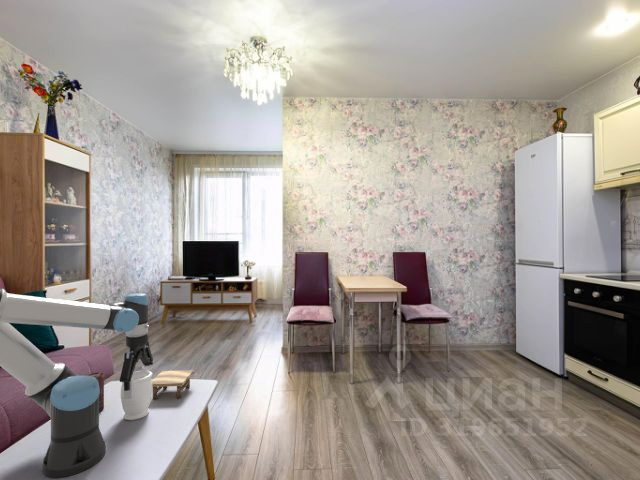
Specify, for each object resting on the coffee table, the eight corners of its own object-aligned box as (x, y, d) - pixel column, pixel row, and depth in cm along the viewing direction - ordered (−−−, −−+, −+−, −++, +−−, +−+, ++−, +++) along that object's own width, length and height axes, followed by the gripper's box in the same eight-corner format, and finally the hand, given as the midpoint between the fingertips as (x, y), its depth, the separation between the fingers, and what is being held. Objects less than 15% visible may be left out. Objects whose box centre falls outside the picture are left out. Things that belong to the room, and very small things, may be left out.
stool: (182, 400, 136) (182, 383, 136) (147, 400, 135) (147, 384, 135) (193, 385, 150) (193, 370, 150) (162, 386, 149) (162, 370, 149)
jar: (144, 405, 131) (144, 368, 132) (157, 413, 125) (157, 373, 126) (115, 416, 123) (115, 376, 123) (128, 425, 117) (128, 383, 117)
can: (108, 407, 130) (108, 371, 130) (95, 415, 124) (95, 378, 124) (94, 406, 131) (94, 371, 131) (80, 414, 124) (81, 377, 124)
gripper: (129, 344, 112) (130, 405, 112) (161, 325, 137) (162, 375, 137) (107, 345, 112) (108, 406, 112) (143, 326, 137) (143, 376, 137)
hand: (137, 389), depth 124 cm, fingers open, 13 cm apart
